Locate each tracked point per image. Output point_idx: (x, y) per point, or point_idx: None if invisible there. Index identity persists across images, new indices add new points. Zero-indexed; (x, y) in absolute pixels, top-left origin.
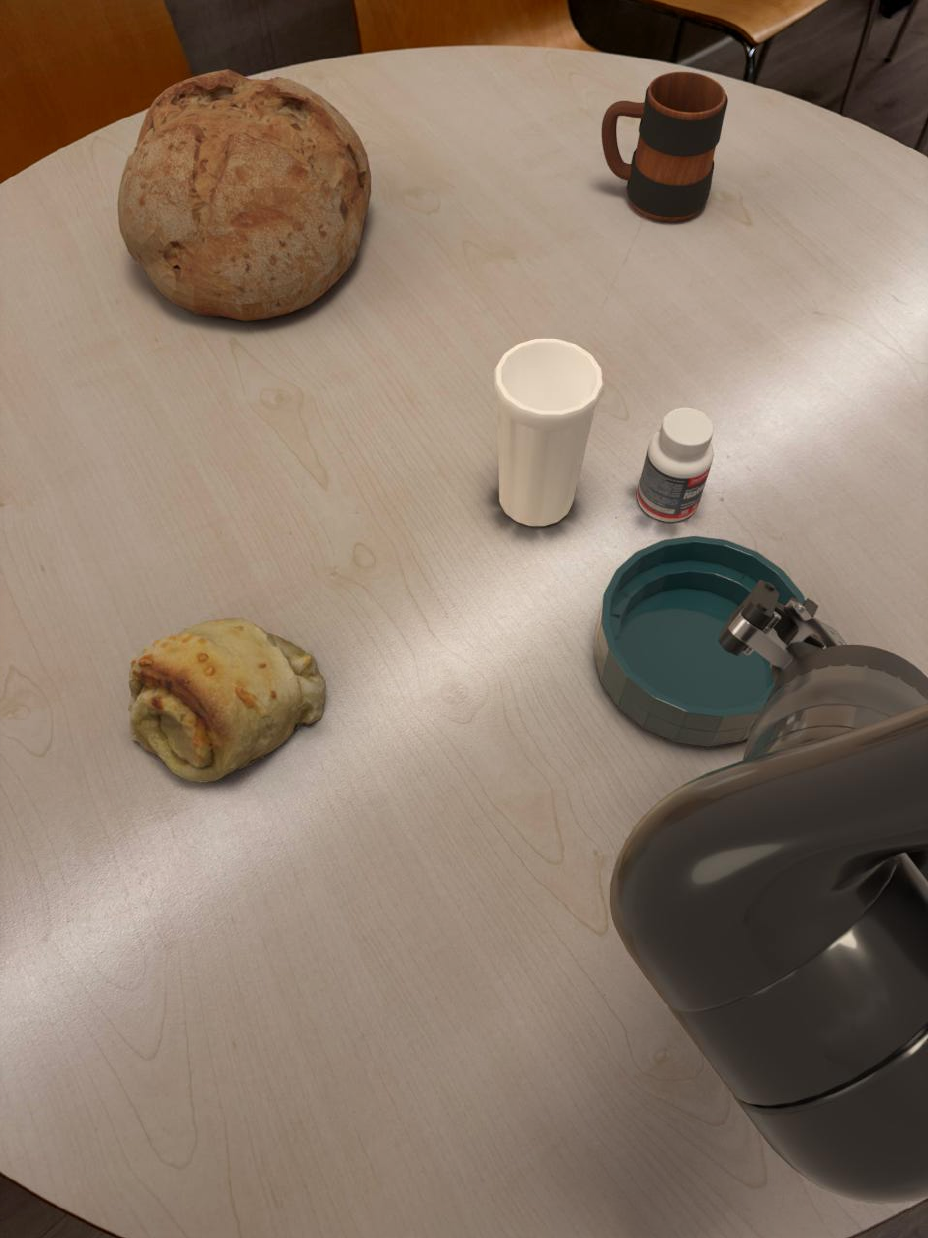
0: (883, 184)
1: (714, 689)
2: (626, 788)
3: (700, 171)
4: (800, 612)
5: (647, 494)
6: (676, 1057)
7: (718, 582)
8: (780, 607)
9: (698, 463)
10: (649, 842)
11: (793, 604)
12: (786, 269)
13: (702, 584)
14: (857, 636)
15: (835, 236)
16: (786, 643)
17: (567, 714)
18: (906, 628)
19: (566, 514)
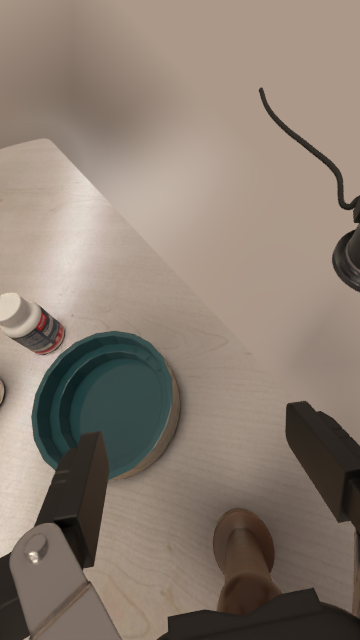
0: (41, 151)
1: (140, 415)
2: (145, 524)
3: None
4: (29, 583)
5: (31, 348)
6: None
7: (96, 360)
8: (4, 584)
9: (31, 317)
10: None
11: (16, 564)
12: (28, 204)
13: (91, 367)
14: (176, 321)
15: (37, 179)
16: (87, 561)
17: None
18: (191, 298)
19: (3, 393)
